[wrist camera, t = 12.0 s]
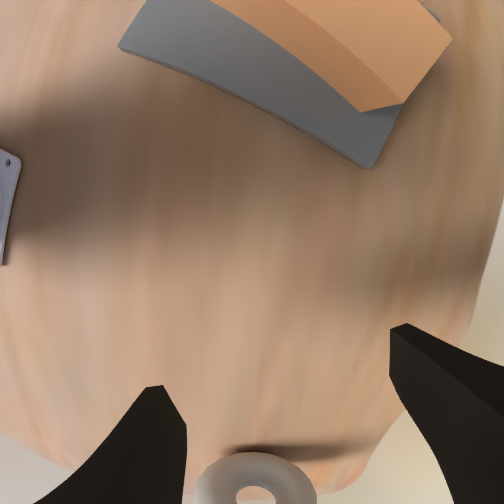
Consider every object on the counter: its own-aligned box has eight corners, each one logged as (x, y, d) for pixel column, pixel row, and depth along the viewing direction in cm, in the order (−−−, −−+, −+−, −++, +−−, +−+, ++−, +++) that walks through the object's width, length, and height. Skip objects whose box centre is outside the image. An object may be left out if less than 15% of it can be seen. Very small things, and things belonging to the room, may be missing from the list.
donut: (195, 460, 23) (190, 552, 14) (196, 440, 22) (191, 542, 13) (300, 463, 24) (319, 549, 15) (310, 444, 23) (334, 537, 14)
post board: (123, 51, 13) (99, 31, 10) (228, -82, 10) (228, -113, 7) (363, 168, 16) (393, 174, 13) (432, 24, 13) (463, 9, 10)
